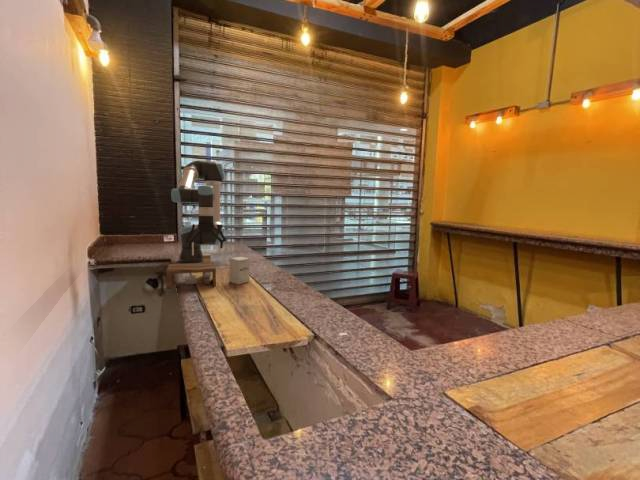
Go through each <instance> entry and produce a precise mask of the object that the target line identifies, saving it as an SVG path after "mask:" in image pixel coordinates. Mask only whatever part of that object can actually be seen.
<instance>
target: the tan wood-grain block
mask: <svg viewBox="0 0 640 480" xmlns="http://www.w3.org/2000/svg"><path fill="white" fill-rule="evenodd" d="M202 254H203V261H202V263H212V262H211V254H210V253H202ZM211 277H212V272H202V279H204V281H203V282H204V285H210V284H211V279H210V278H211Z"/></svg>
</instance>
